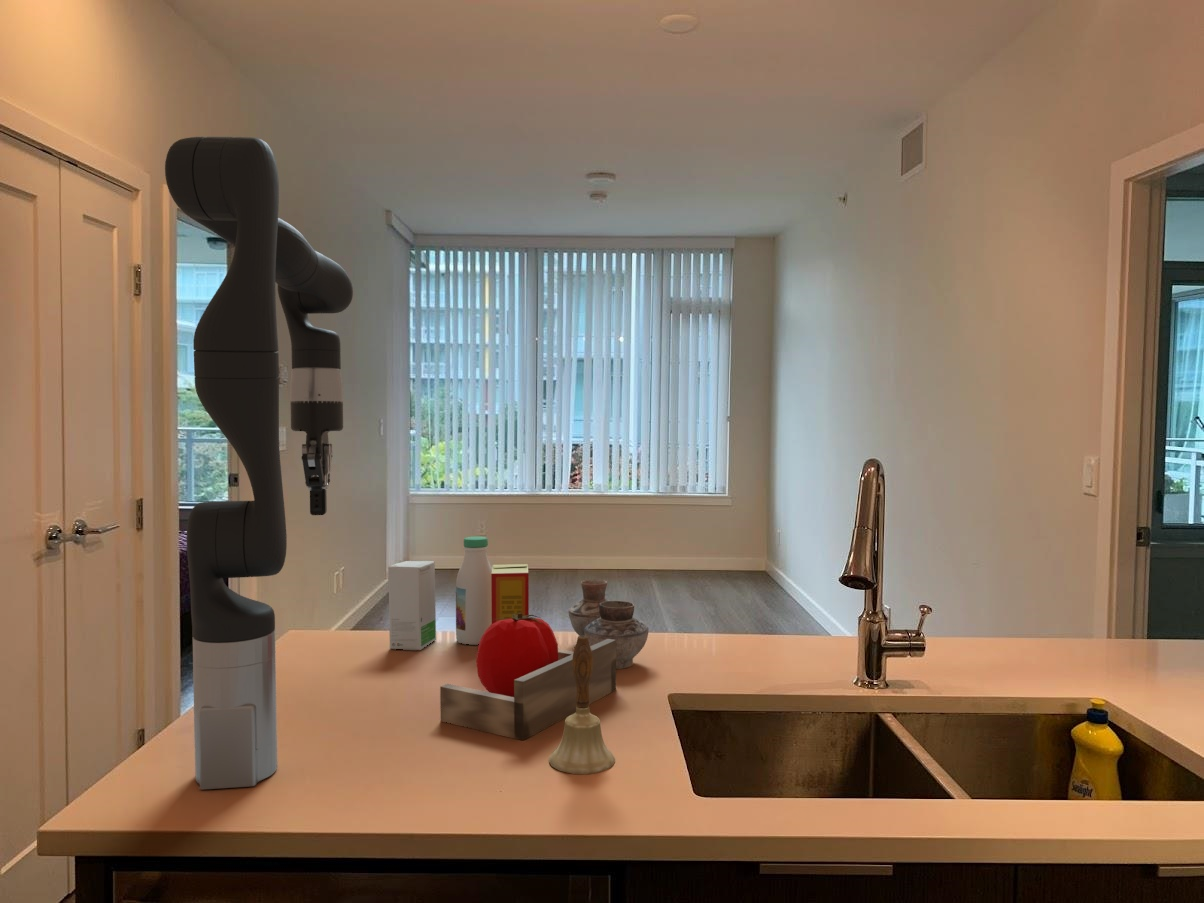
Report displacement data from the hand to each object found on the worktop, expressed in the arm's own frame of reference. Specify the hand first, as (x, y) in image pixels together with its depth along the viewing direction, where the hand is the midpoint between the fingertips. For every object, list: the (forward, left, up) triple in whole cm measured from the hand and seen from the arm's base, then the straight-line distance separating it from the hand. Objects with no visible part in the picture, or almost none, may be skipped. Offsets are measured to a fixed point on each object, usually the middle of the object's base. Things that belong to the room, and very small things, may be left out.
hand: (318, 514), depth 132 cm
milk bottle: (+32, -24, -29) cm, 49 cm away
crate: (-6, -31, -29) cm, 43 cm away
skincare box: (+31, -12, -29) cm, 44 cm away
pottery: (+19, -47, -29) cm, 58 cm away
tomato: (-4, -30, -29) cm, 42 cm away
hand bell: (-29, -36, -29) cm, 55 cm away
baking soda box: (+22, -30, -29) cm, 47 cm away
